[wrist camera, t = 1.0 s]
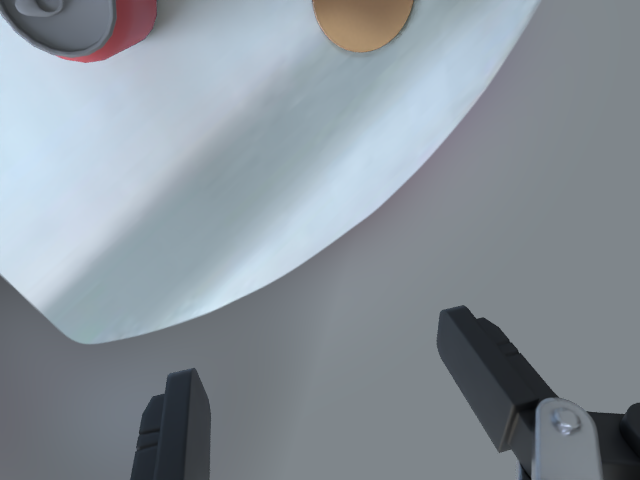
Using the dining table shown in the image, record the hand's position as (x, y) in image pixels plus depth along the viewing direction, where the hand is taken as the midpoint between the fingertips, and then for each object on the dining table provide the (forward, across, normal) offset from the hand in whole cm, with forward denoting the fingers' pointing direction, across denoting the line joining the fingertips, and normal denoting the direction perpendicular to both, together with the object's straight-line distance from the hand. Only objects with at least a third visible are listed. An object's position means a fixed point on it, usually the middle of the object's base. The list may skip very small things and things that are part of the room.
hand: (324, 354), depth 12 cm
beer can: (+29, +9, -11) cm, 32 cm away
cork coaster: (+29, -11, -9) cm, 32 cm away
